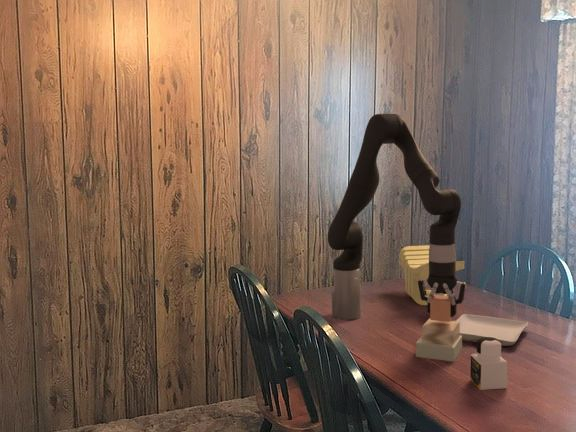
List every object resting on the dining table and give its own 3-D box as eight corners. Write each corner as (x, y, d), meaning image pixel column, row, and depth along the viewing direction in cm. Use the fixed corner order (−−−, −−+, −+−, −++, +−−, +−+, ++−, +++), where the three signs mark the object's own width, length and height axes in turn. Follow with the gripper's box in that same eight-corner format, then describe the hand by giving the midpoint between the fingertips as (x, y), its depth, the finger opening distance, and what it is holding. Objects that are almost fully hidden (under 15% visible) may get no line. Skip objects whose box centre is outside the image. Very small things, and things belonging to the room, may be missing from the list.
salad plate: (529, 331, 212) (529, 320, 211) (514, 352, 194) (515, 340, 193) (463, 322, 222) (463, 312, 222) (443, 341, 204) (444, 330, 204)
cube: (430, 319, 191) (430, 299, 191) (434, 314, 196) (434, 294, 196) (449, 321, 189) (449, 301, 188) (453, 316, 194) (453, 296, 193)
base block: (415, 358, 191) (415, 343, 191) (425, 345, 201) (425, 331, 201) (454, 363, 187) (454, 347, 186) (462, 350, 197) (462, 335, 196)
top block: (421, 342, 191) (421, 327, 191) (429, 332, 199) (429, 318, 198) (452, 346, 187) (452, 331, 187) (459, 336, 195) (459, 321, 195)
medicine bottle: (469, 379, 174) (470, 335, 172) (496, 377, 174) (497, 334, 173) (480, 390, 167) (480, 344, 165) (507, 388, 167) (508, 343, 166)
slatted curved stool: (399, 290, 264) (399, 246, 261) (438, 288, 265) (438, 244, 262) (419, 312, 234) (419, 263, 231) (464, 309, 235) (464, 260, 233)
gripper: (414, 259, 190) (414, 316, 192) (465, 263, 184) (464, 321, 186) (420, 254, 197) (420, 309, 199) (470, 257, 191) (469, 314, 193)
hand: (441, 315), depth 193 cm, fingers closed on cube, 5 cm apart
